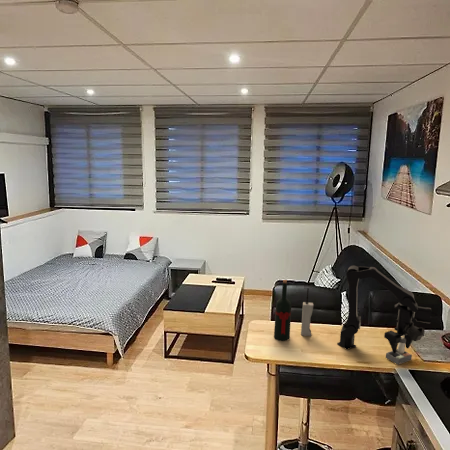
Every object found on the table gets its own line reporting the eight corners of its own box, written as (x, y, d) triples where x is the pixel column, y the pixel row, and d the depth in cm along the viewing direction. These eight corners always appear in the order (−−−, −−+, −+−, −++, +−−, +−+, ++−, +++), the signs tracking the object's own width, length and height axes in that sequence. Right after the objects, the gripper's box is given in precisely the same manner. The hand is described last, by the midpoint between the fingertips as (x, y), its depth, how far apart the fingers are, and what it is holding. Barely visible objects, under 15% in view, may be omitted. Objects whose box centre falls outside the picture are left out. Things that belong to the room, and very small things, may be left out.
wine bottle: (274, 342, 188) (277, 284, 183) (273, 333, 198) (276, 277, 193) (290, 343, 188) (294, 285, 182) (288, 334, 198) (292, 278, 192)
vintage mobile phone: (311, 336, 196) (314, 289, 191) (301, 335, 197) (304, 289, 192) (310, 333, 199) (314, 287, 195) (301, 332, 200) (304, 286, 196)
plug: (400, 358, 176) (403, 340, 174) (395, 355, 178) (397, 337, 177) (405, 357, 177) (407, 339, 176) (399, 354, 180) (401, 336, 178)
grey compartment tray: (397, 364, 171) (398, 359, 171) (385, 357, 177) (386, 352, 176) (411, 359, 176) (412, 354, 175) (398, 353, 181) (399, 347, 181)
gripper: (407, 329, 163) (403, 363, 166) (434, 321, 172) (429, 353, 175) (385, 319, 173) (381, 351, 175) (411, 312, 182) (407, 343, 184)
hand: (400, 350), depth 177 cm, fingers open, 9 cm apart
